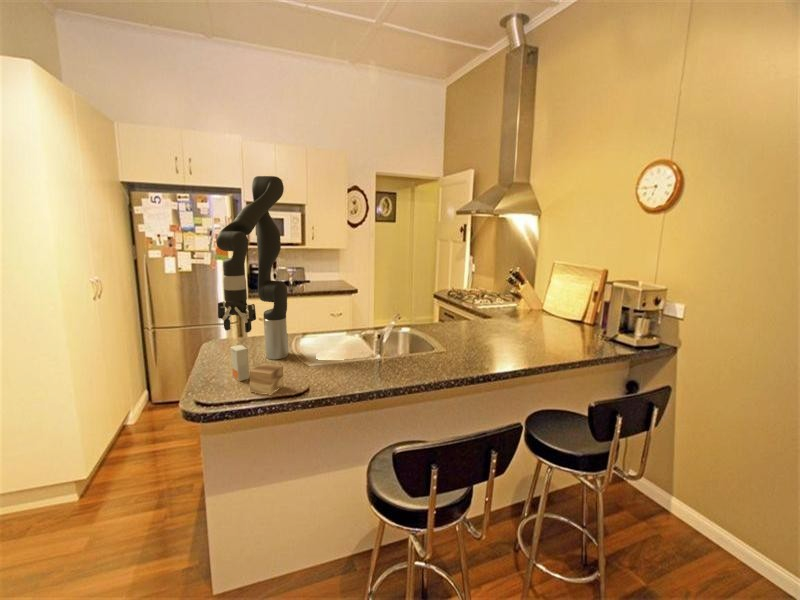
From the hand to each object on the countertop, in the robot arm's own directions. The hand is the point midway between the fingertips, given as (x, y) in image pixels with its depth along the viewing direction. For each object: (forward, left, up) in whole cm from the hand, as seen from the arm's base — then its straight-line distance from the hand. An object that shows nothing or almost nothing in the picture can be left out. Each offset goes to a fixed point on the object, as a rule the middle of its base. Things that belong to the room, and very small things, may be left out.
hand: (237, 330), depth 146 cm
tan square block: (+6, +15, -15) cm, 22 cm away
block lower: (+6, +15, -19) cm, 25 cm away
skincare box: (0, 0, -19) cm, 19 cm away
